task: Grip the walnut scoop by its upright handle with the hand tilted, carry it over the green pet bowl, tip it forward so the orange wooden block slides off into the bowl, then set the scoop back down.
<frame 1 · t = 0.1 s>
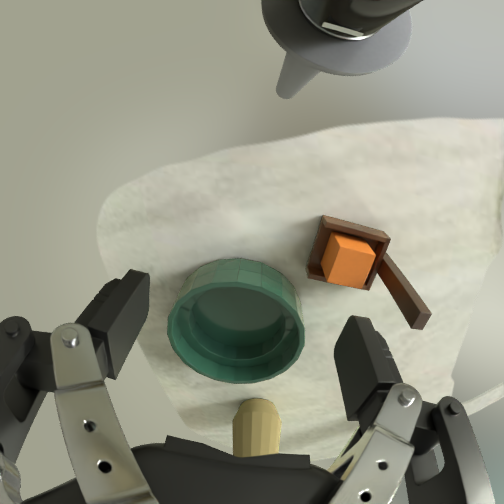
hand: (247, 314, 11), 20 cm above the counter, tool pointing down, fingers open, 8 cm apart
squeeze bottle: (257, 405, 45), on the counter
scoop: (345, 250, 31), on the counter, touching block
block: (342, 251, 31), point 1 cm above the counter, touching scoop
green pet bowl: (238, 311, 36), on the counter
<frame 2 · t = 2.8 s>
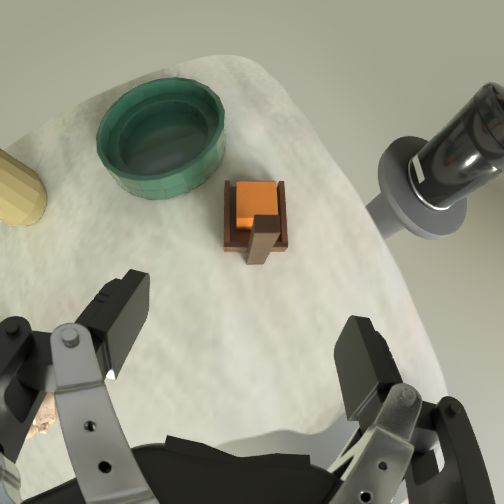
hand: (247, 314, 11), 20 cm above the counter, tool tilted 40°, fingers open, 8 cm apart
figurine: (38, 402, 26), on the counter
squeeze bottle: (33, 206, 32), on the counter
scoop: (254, 219, 33), on the counter, touching block
block: (254, 213, 32), point 1 cm above the counter, touching scoop
green pet bowl: (166, 147, 34), on the counter
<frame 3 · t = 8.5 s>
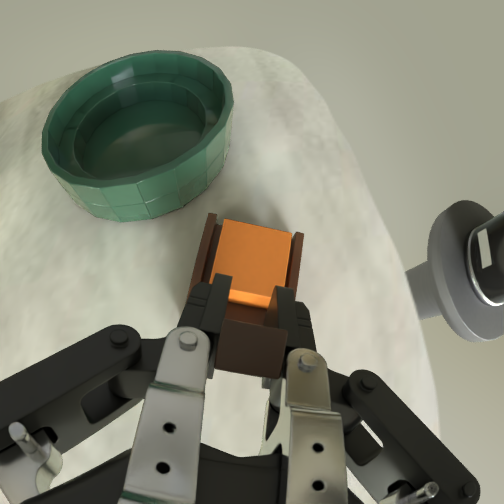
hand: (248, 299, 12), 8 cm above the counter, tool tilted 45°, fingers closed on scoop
scoop: (243, 284, 20), on the counter, touching block, gripper
block: (245, 275, 20), point 1 cm above the counter, touching scoop
green pet bowl: (143, 146, 23), on the counter
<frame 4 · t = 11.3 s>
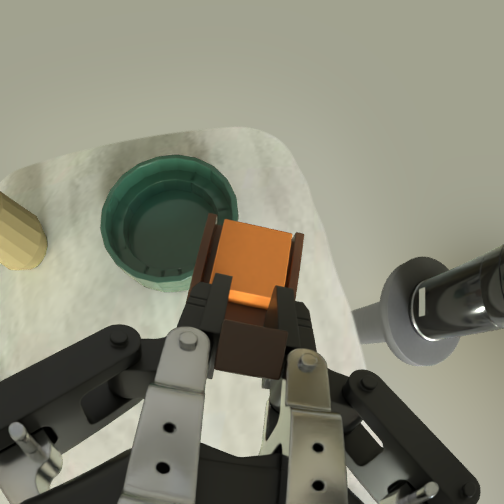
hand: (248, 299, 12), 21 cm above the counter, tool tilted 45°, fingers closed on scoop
squeeze bottle: (33, 249, 32), on the counter
scoop: (243, 284, 20), point 13 cm above the counter, touching block, gripper
block: (245, 275, 20), point 14 cm above the counter, touching scoop
green pet bowl: (173, 231, 35), on the counter
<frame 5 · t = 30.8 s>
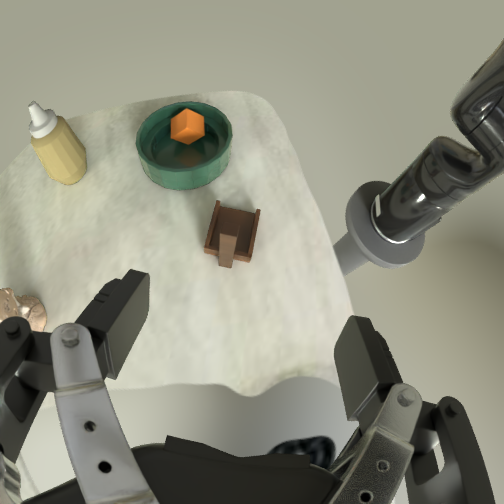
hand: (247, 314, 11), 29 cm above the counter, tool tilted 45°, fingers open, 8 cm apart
figurine: (30, 321, 34), on the counter
squeeze bottle: (73, 172, 43), on the counter
scoop: (232, 233, 43), on the counter
block: (187, 136, 44), point 3 cm above the counter, tilted 79°, touching green pet bowl
green pet bowl: (185, 153, 47), on the counter
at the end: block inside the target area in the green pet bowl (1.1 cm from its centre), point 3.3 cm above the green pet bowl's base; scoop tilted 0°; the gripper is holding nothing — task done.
